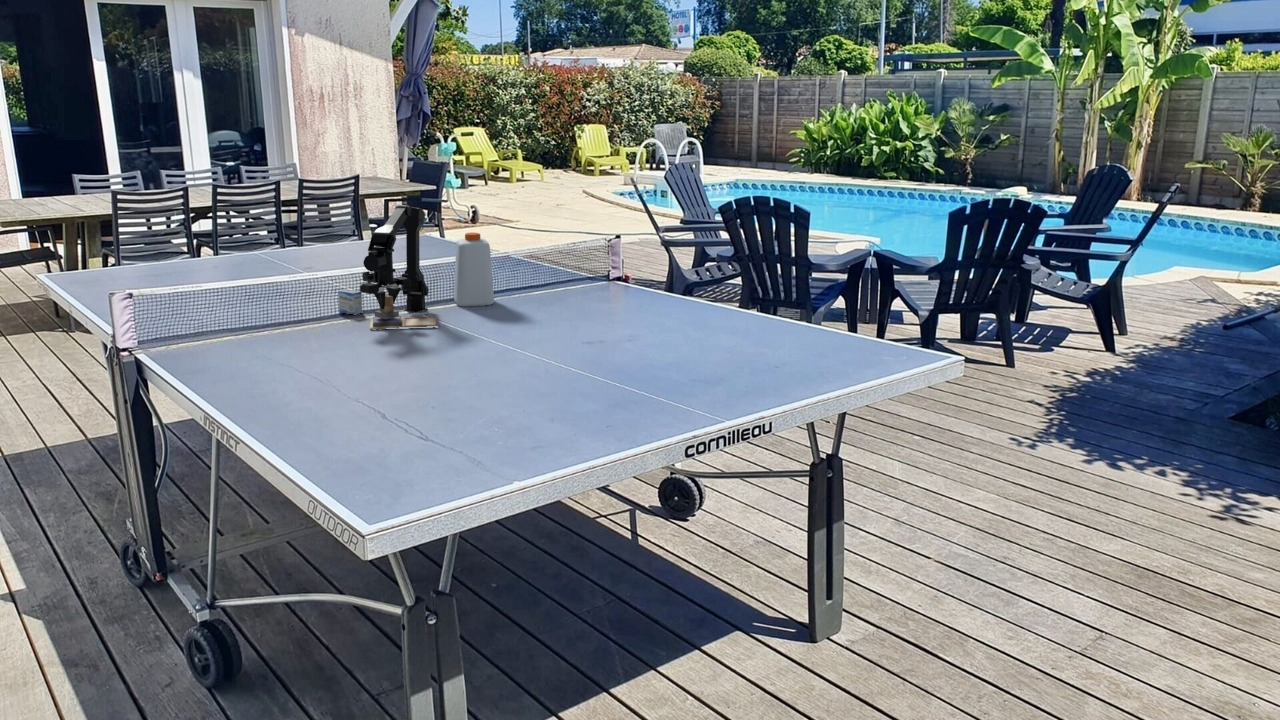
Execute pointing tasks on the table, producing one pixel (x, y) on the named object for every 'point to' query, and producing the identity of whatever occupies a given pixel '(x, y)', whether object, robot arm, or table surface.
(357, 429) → the table surface
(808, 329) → the table surface
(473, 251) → the plastic bottle
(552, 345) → the table surface
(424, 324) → the board
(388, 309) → the stamp
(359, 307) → the medicine box
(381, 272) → the robot arm
